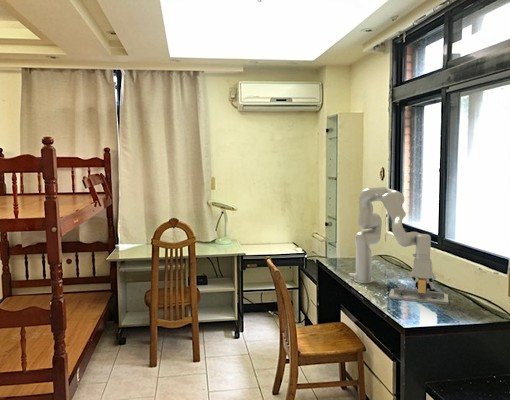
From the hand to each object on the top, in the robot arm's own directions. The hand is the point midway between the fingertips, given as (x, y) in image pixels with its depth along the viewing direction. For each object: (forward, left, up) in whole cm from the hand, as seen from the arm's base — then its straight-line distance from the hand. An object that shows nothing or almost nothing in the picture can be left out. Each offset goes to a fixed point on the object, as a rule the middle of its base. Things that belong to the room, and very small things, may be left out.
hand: (421, 288), depth 240 cm
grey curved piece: (+1, +21, -5) cm, 22 cm away
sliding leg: (0, 0, -3) cm, 3 cm away
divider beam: (-2, 0, -3) cm, 4 cm away
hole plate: (-2, -1, -5) cm, 5 cm away
